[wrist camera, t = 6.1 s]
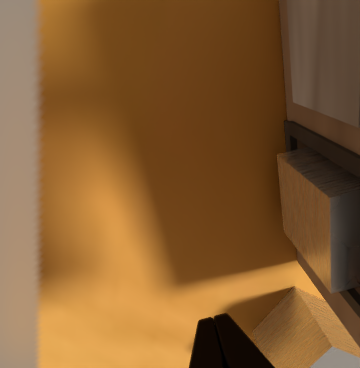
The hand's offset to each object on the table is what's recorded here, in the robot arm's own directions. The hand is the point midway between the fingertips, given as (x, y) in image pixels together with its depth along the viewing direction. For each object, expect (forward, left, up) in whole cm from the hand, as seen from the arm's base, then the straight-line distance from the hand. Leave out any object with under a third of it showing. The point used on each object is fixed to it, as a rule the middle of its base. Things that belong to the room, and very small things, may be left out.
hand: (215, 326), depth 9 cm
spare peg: (-12, +3, -7) cm, 14 cm away
